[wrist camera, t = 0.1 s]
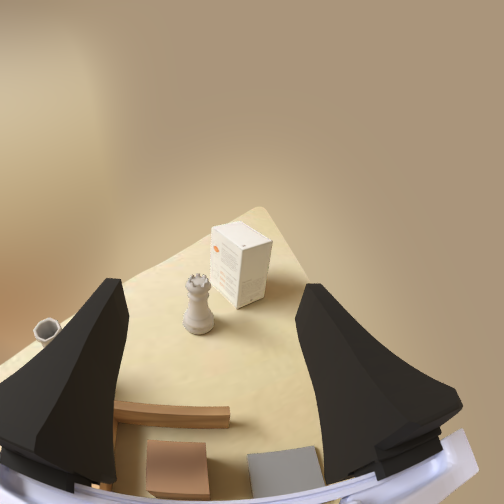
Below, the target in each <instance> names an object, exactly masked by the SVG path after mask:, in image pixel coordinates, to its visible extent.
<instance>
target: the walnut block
mask: <svg viewBox="0 0 504 504" xmlns="http://www.w3.org/2000/svg"><path fill="white" fill-rule="evenodd" d="M146 491H148V492H149V493H150V494H152V495H153V496H155V497H156V498H161V499H174V500H199V501H210V493H209V482H208V470H207V457H206V443H198V442H171V441H157V440H148V441H147V466H146Z"/></svg>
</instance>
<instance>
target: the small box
mask: <svg viewBox="0 0 504 504" xmlns="http://www.w3.org/2000/svg"><path fill="white" fill-rule="evenodd" d="M272 242H273V241H272V240H270V239H269V238H267V237H265V236H264V235H262V234H261V233H259V232H258V231H256V230H254V229H253V228H251V227H250V226H248V225H247V224H245V223H243V222H242V221H237V222H232V223H227V224H223V225H219V226H214V227H212V230H211V255H210V283H211V284H212V285H213V286H214V287H215V288H216V289H217V290H218V291H219V292H220V293H221V294H222V295H223V296H224V297H225V298H226V299H227V300H228V301H229V302H230V303H231V304H232V305H233V306H234V307H235V308H236V309H238V308H241V307H243V306H245V305H247V304H250V303H252V302H254V301H257V300H259V299H261V298H263V297H264V293H265V287H266V281H267V275H268V269H269V262H270V256H271V249H272Z"/></svg>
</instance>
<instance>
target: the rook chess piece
mask: <svg viewBox="0 0 504 504" xmlns="http://www.w3.org/2000/svg"><path fill="white" fill-rule="evenodd" d="M185 287H186V289H187V290H188V291H189V292H188V293H187V296H188V298H189V304H188V308H187V309H186V311H185V313H184V315H183V326H184V327H185V329H186V330H188V331H189V332H191V333H193V334H204V333H207V332H208V331H210V330H211V329H212V328H213V326H214V316H213V313H212V312H211V310H210V309H209V307H208V302H207V299H208V297H209V293H208V291H209V290H210V288H211V283H210V282H209V281H208V278H206V275H204V274H203V275H202V277H200V274H196V277H194V275H193V274H192V275H191V276H190V278H188V281H187V283H186V285H185Z"/></svg>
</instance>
